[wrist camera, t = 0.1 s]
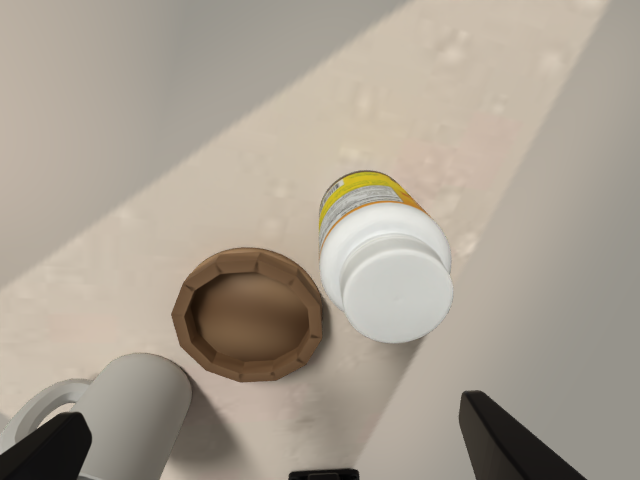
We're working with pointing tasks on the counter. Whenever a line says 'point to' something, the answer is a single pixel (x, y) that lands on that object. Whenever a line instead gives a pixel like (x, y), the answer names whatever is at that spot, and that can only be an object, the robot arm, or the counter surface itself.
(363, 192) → the supplement bottle
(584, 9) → the counter surface
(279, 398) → the counter surface
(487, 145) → the counter surface
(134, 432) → the cup
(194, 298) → the walnut tray
